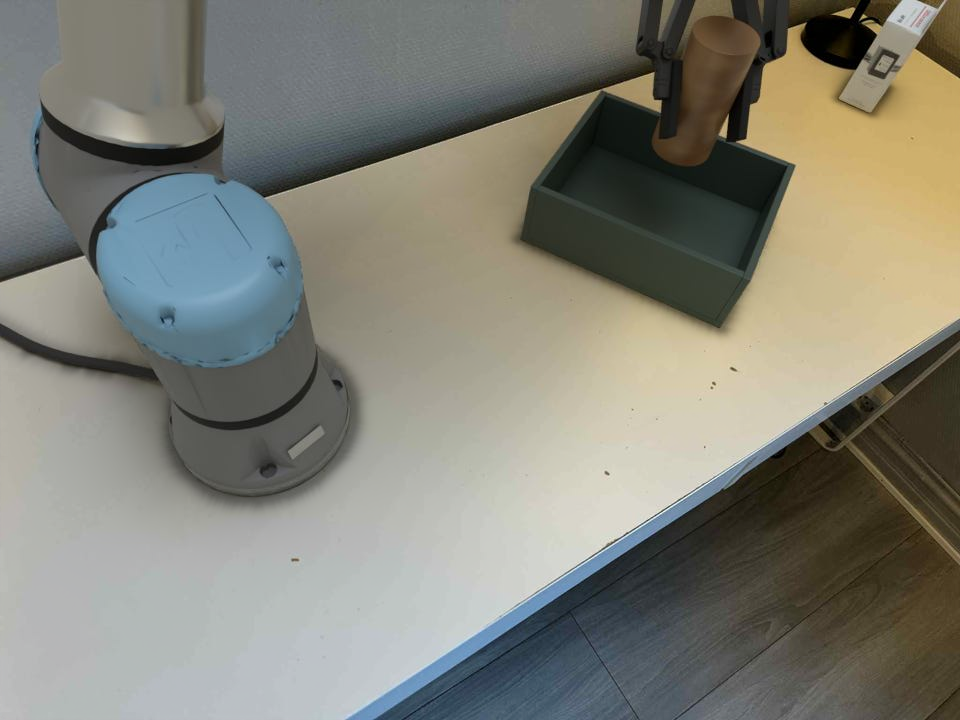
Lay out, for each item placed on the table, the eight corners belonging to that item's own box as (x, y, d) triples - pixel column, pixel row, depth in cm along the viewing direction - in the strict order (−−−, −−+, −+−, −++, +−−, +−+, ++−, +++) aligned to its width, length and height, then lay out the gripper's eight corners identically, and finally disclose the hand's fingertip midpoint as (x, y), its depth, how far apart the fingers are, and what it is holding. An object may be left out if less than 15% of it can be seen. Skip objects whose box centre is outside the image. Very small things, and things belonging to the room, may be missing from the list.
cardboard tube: (657, 165, 66) (700, 52, 56) (646, 126, 69) (686, 13, 59) (715, 167, 66) (769, 56, 56) (702, 128, 69) (750, 17, 59)
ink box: (856, 73, 99) (919, -30, 86) (888, 87, 97) (957, -15, 85) (836, 99, 94) (900, -5, 82) (869, 114, 93) (939, 11, 81)
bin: (520, 239, 74) (530, 186, 68) (587, 143, 85) (601, 89, 78) (719, 328, 70) (751, 280, 63) (765, 215, 80) (796, 164, 73)
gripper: (808, -110, 62) (777, 147, 67) (610, -126, 60) (593, 139, 65) (859, -154, 55) (820, 138, 60) (635, -173, 53) (614, 129, 58)
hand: (701, 138), depth 62 cm, fingers closed on cardboard tube, 6 cm apart
